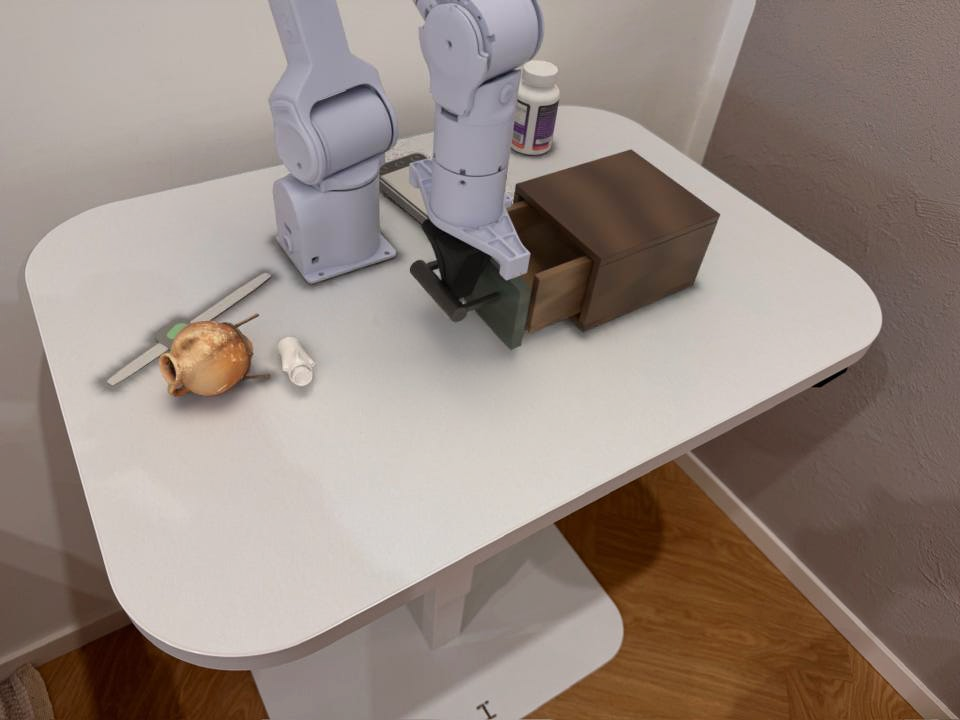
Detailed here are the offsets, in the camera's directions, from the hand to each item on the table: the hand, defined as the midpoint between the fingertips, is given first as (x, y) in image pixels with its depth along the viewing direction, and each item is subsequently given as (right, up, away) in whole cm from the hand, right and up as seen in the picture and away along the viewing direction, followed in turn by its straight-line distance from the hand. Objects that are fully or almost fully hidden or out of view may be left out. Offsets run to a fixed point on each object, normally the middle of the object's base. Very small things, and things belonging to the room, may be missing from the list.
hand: (458, 293), depth 65 cm
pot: (-22, -5, -4) cm, 23 cm away
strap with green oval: (-24, -2, 0) cm, 24 cm away
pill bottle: (+8, +21, +26) cm, 34 cm away
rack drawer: (+5, 0, +5) cm, 7 cm away
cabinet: (+14, +3, +10) cm, 18 cm away
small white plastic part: (-13, -7, -2) cm, 15 cm away
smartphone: (-3, +12, +16) cm, 20 cm away
